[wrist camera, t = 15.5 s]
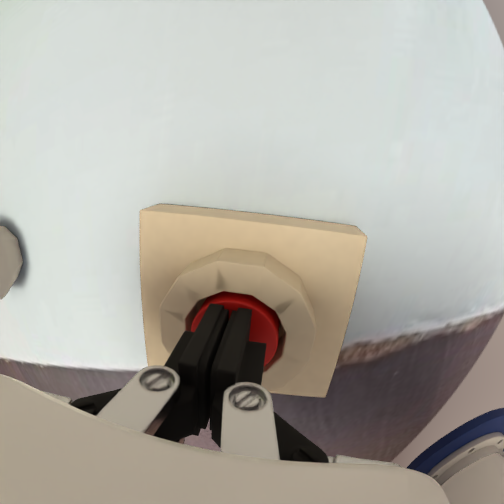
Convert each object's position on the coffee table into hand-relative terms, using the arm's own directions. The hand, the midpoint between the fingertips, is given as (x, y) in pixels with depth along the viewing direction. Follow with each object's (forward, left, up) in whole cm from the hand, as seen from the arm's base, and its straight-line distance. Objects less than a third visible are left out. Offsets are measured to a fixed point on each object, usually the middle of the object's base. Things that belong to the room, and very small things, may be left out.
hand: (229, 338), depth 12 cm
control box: (0, 0, -4) cm, 4 cm away
